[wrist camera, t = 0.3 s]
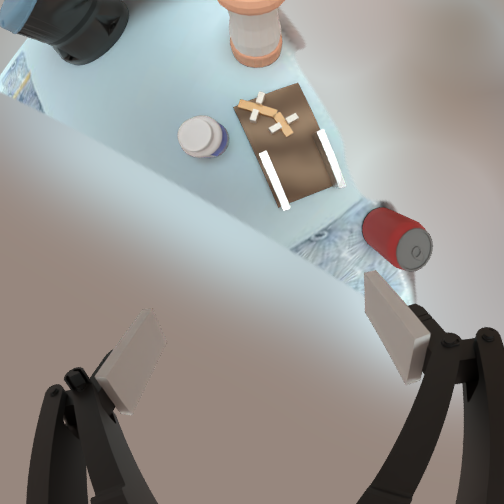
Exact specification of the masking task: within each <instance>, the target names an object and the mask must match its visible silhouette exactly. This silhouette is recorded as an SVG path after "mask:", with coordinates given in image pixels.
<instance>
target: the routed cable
mask: <svg viewBox="0 0 504 504" xmlns="http://www.w3.org/2000/svg"><path fill="white" fill-rule="evenodd" d="M264 99H265V93H263V92H259V94H258V96H257V99H256V103H253V102H249V101H245V100H241V99H240V102H239V105H238V108H239V109H243V110H247V111H250V112H252V114H251V117H250V122H252V123H256V122H257V119H258V116H259V114H261V115H264V116H268V117H271V118H273V119H274V120H275V122H276V124H275V125H273V126H271V127H269V129H268V130H269V132H270V133H271V135H272V134H274V133H275V132H277V131H279V130H281V131H282V132H283V134H284V136H285V137H288V136H289V135H291V134H293V133H294V132H293V131H292V129H291V128H290V126H289V124H291V123H293V122H295V121H297V120H298V118H299V117H298V116H297V114H296V113H294V114H292V115H291V116H289V117H287V118H284V117H283V115H282V114H281V112H278V113H277V110H276V109H273V108H270V107H267V106H263V102H264ZM276 113H277V114H276Z"/></svg>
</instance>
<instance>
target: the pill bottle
mask: <svg viewBox="0 0 504 504" xmlns="http://www.w3.org/2000/svg"><path fill="white" fill-rule="evenodd" d="M178 141H179V143H180V145H181V147H182V149H183V150H184V151H185V152H186V153H187V154H189V155H190V156H193V157H199V158H213V157H217V156H219V155H221V154H222V153H223V152H224V151H225V150H226V148H227V146H228V143H229V135H228V132H227V131H226V129H225V128H224V127H223V126H222V125H221V124H219V123H218V122H217V121H215V120H214V119H212V118H211V117H208V116H195V117H193V118H191V119H188V120H186V121H185V122H184V123H183V124H182V125H181V126H180V128H179V130H178Z"/></svg>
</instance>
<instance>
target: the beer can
mask: <svg viewBox="0 0 504 504" xmlns="http://www.w3.org/2000/svg"><path fill="white" fill-rule="evenodd" d="M363 236H364V239H365V240H366V242H367V243H368V244H369V245H370V246H371V247H373V248H374V249H375V250H376V251H377V252H378V253H379V254H381V255H382V256H383V257H384V258H385V259H386V260H387V261H389V262H390V263H391V264H392V265H393V266H395V267H396V268H399V269H402V270H406V271H409V272H412V271H417V270H419V269H421V268H422V267H423V266H425V265H426V263H427V262H428V260H429V259H430V256H431V254H432V247H433V244H432V239H431V236H430V234H429V233H427V231H426V230H425V228H424V227H423V226H422V225H421V224H420V223H419V222H417V221H414V220H412V219H410V218H408V217H406V216H403V215H401V214H399V213H397V212H394V211H392V210H390V209H387V208H377V209H374V210H372V211H371V212H370V213H369V214H368V215H367V217H366V218H365V220H364V223H363Z"/></svg>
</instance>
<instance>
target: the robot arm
mask: <svg viewBox="0 0 504 504" xmlns="http://www.w3.org/2000/svg"><path fill="white" fill-rule="evenodd" d="M127 21H128V9H127V7H126V5H125V4H124V3H123V2H122V1H120V0H4V3H3V4H2V7H1V10H0V26H1V27H2V28H4V29H6V30H8V31H10V32H12V33H14V34H20V35H23V36H26V37H29V38H32V39H35V40H38V41H41V42H44V43H47V44H49V45H51V46H52V47H53V48H54V49H55V50H56V52H57V53H58V54H59V55H60V57H61V58H62V59H63V60H65V61H66V62H69V63H71V64H74V65H82V64H86V63H89V62H91V61H93V60H95V59H97V58H99V57H100V56H101V55H103V54H104V53H105V52H106V51H108V50H109V49H110V48H111V47H112V46H113V45H114V43H115V42H116V41H117V40H118V39H119V37H120V36H121V34H122V33H123V31H124V29H125V27H126V24H127ZM364 286H365V313H366V315H367V316H368V318H369V320H370V322H371V323H372V325H373V327H374V328H375V330H376V332H377V334H378V335H379V337H380V339H381V341H382V342H383V344H384V346H385V348H386V350H387V351H388V353H389V355H390V357H391V359H392V360H393V362H394V364H395V366H396V368H397V370H398V372H399V373H400V375H401V377H402V379H403V381H404V383H405V385H408V384H411V383H414V382H417V381H419V380H420V378H421V375H422V371H423V373H424V378H423V381H422V384H421V386H420V389H419V392H418V394H417V397H416V399H415V401H414V404H413V406H412V408H411V411H410V413H409V415H408V418H407V420H406V422H405V424H404V426H403V428H402V430H401V432H400V435H399V437H398V439H397V440H396V442H395V444H394V446H393V448H392V450H391V452H390V454H389V455H388V457H387V459H386V461H385V463H384V464H383V466H382V468H381V469H380V471H379V473H378V474H377V476H376V477H375V479H374V480H373V482H372V483H371V485H370V486H369V487H368V488H367V490H366V491H365V492H364V494H363V495H362V497H361V498H360V499H359V501H358V502H357V503H356V504H410V503H411V501H412V496H413V494H414V492H415V490H416V488H417V486H418V484H419V482H420V480H421V478H422V476H423V474H424V472H425V470H426V468H427V465H428V463H429V461H430V458H431V456H432V453H433V451H434V448H435V446H436V443H437V441H438V438H439V435H440V432H441V429H442V427H443V424H444V421H445V418H446V414H447V411H448V408H449V404H450V400H451V397H452V393H453V389H454V385H455V384H460V383H462V384H463V400H464V440H463V456H462V467H461V475H460V482H459V489H458V494H457V500H456V504H504V346H503V343H502V340H501V337H500V334H499V333H498V332H497V331H496V330H495V329H493V328H488V327H485V328H481V329H480V330H478V332H477V334H476V337H475V338H472V339H465V340H461V338H460V337H459V336H458V335H456V334H454V333H446V332H445V331H444V330H443V329H442V328H441V327H440V326H439V324H438V323H437V322H436V321H435V320H434V319H432V317H431V316H430V315H429V314H428V312H427V311H426V310H425V309H424V308H423V307H421V306H419V305H417V304H413V305H409V306H407V305H406V303H405V302H404V301H403V300H402V299H401V298H400V297H399V295H398V294H397V293H396V292H395V291H394V290H393V289H392V288H391V286H390V285H389V284H388V283H387V282H386V281H385V280H384V279H383V278H382V276H381V275H380V274H379V273H378V272H377V271H376V270H374V271H370V272H365V273H364ZM166 344H167V341H166V339H165V336H164V334H163V332H162V329H161V327H160V325H159V322H158V320H157V318H156V315H155V313H154V310H153V308H150V309H143V310H142V311H141V313H140V314H139V315H138V317H137V318H136V319H135V321H134V322H133V323H132V325H131V326H130V327H129V329H128V330H127V331H126V333H125V334H124V336H123V337H122V338H121V340H120V341H119V343H118V344H117V345H116V347H115V348H114V349H113V350H111V351H110V352H109V353H108V354H107V355H106V356H105V357H104V359H103V361H102V362H101V363H100V364H99V366H98V367H97V369H96V370H95V371H94V373H93V374H92V376H91V377H90V379H89V377H88V376H87V374H86V372H85V371H84V370H83V368H81V367H78V368H74V369H72V370H70V371H69V372H68V373H67V374H66V375H65V377H64V380H65V382H66V383H67V385H68V386H69V388H70V389H71V390H68V391H65V390H64V389H63V387H62V386H61V385H59V384H56V385H53V386H51V387H49V389H48V390H47V391H46V393H45V396H44V400H43V404H42V407H41V411H40V415H39V420H38V423H37V428H36V433H35V438H34V443H33V448H32V454H31V460H30V468H29V476H28V486H27V501H26V504H88V495H87V476H86V466H87V469H88V473H89V476H90V479H91V482H92V486H93V489H94V492H95V497H92V498H91V500H90V501H91V504H158V503H157V501H156V500H155V498H154V496H153V494H152V493H151V491H150V489H149V487H148V485H147V484H146V482H145V480H144V478H143V476H142V474H141V472H140V470H139V468H138V466H137V464H136V462H135V460H134V458H133V455H132V453H131V451H130V449H129V447H128V444H127V442H126V440H125V438H124V435H123V432H122V430H121V427H120V425H119V422H118V420H117V417H116V415H115V414H114V412H113V410H114V408H115V407H116V408H117V409H118V411H119V412H120V413H121V414H126V415H133V413H134V411H135V408H136V406H137V404H138V402H139V400H140V398H141V395H142V393H143V391H144V389H145V387H146V385H147V383H148V381H149V378H150V377H151V374H152V372H153V370H154V368H155V366H156V364H157V362H158V360H159V358H160V356H161V354H162V352H163V350H164V348H165V346H166ZM63 420H64V421H65V422H66V424H64V421H63Z"/></svg>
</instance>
